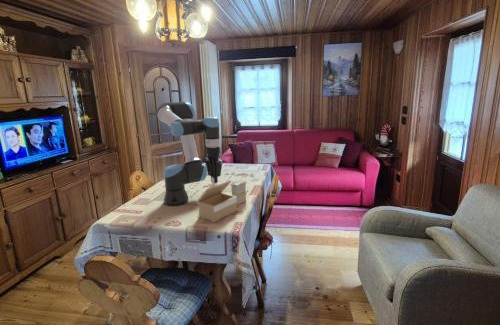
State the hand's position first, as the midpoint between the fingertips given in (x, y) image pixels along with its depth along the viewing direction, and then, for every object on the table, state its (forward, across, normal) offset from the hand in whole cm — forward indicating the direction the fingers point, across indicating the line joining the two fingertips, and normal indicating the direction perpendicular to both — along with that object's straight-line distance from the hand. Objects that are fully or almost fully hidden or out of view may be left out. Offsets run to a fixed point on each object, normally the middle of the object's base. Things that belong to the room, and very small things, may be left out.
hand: (214, 188), depth 157 cm
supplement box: (+15, 0, +20) cm, 25 cm away
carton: (+15, +2, 0) cm, 15 cm away
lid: (+2, 0, 0) cm, 2 cm away
